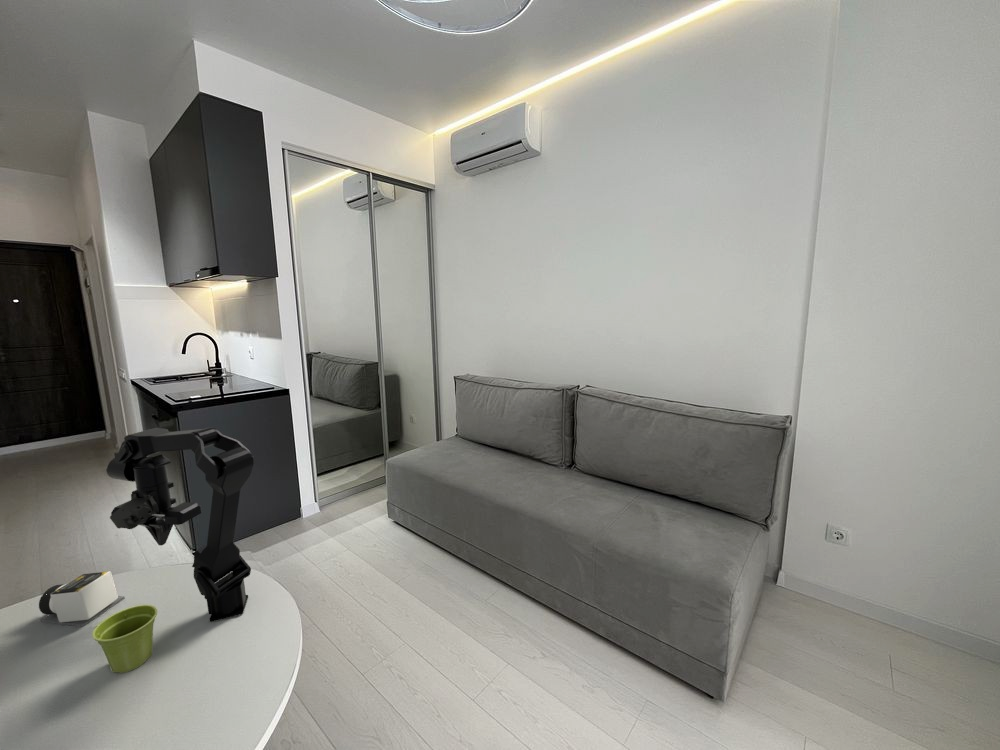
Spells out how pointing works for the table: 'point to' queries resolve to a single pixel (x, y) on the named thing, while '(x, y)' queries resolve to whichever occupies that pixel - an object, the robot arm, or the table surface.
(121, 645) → the plant pot
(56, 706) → the table surface
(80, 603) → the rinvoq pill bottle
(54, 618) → the mat
